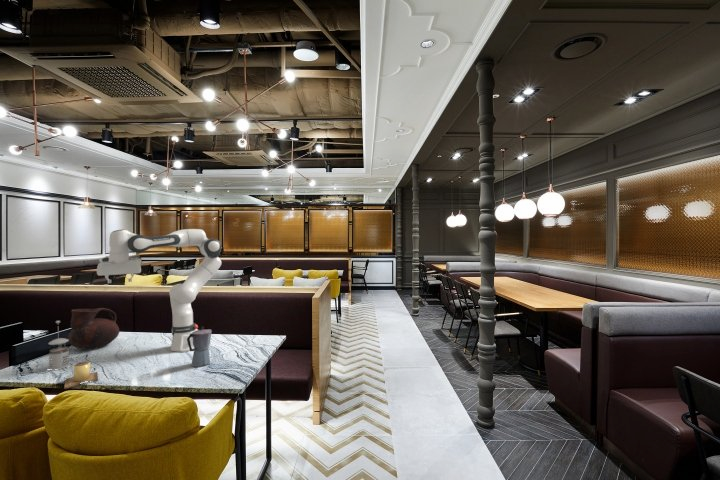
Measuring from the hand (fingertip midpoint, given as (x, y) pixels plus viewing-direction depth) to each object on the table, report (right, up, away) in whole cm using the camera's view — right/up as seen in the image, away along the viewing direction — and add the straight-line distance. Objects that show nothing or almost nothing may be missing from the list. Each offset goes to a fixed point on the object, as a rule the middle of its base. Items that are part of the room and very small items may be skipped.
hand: (119, 282), depth 185 cm
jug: (-30, -43, +20) cm, 57 cm away
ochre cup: (+2, -43, -28) cm, 51 cm away
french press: (-24, -44, -11) cm, 51 cm away
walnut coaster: (+2, -44, -28) cm, 52 cm away
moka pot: (+51, -43, -10) cm, 67 cm away
